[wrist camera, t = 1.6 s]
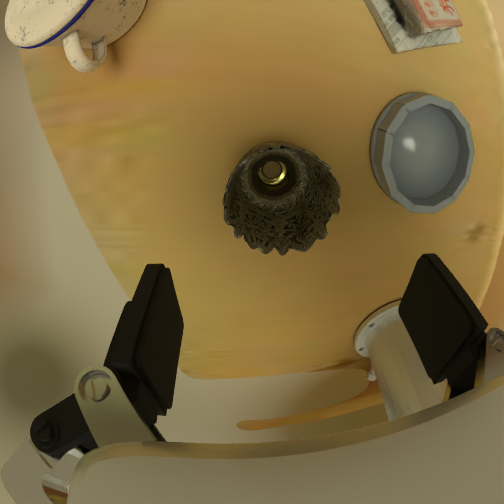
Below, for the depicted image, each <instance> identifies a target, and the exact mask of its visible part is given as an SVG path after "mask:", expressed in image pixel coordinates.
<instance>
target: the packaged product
mask: <svg viewBox="0 0 504 504" xmlns="http://www.w3.org/2000/svg"><path fill="white" fill-rule="evenodd" d="M364 2H365V4H366V5H367V7H368V9H369V10H370V12H371V14H372V15H373V17H374V19H375V21H376V23H377V24H378V26H379V28H380V30H381V32H382V34H383V36H384V38H385V40H386V42H387V44H388V46H389V48H390V49H391V51H392V52H405V51H410V50H414V49H419V48H423V47H433V46H440V45H447V44H452V43H458V42H462V40H461V38H460V36H459V34H458V32H457V29H456V27H460V26H462V23H461V20H460V17H459V15H458V13H457V11H456V9H455V6H454V4H453V2H452V0H364Z"/></svg>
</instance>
